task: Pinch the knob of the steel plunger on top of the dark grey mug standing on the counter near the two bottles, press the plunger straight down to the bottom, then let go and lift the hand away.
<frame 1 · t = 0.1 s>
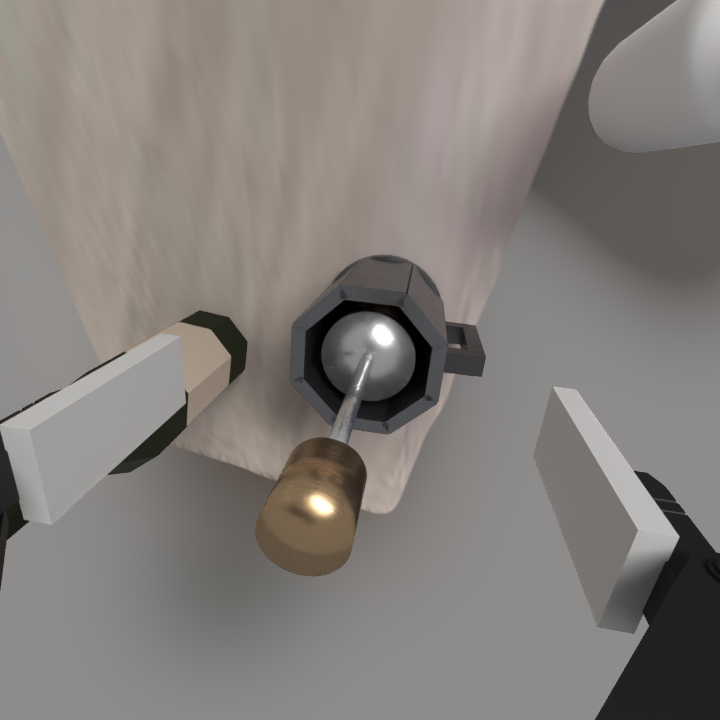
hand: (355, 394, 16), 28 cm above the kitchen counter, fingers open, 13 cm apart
dark grey mug: (383, 314, 44), on the kitchen counter
plunger: (347, 414, 25), point 21 cm above the kitchen counter, slide at 0.0 cm
potion bottle: (640, 95, 34), on the kitchen counter
wine bottle: (212, 346, 48), on the kitchen counter
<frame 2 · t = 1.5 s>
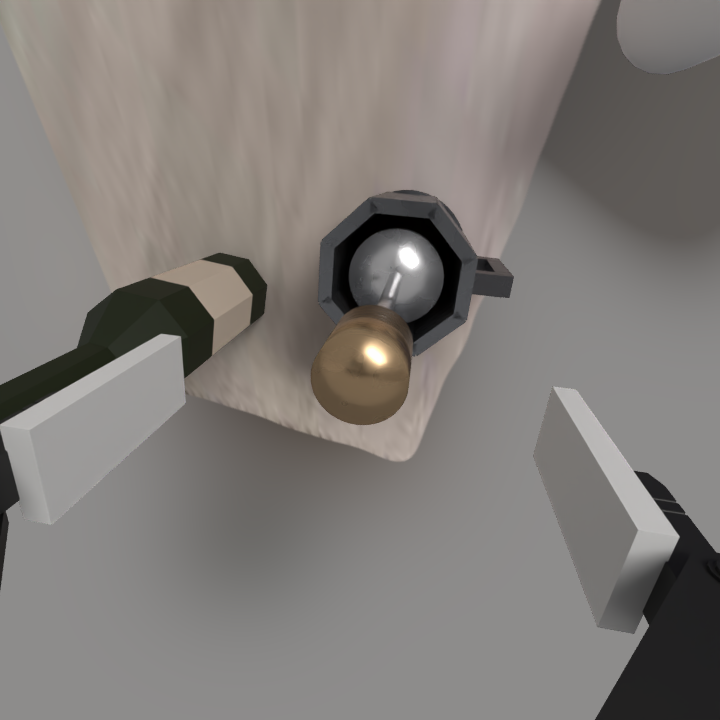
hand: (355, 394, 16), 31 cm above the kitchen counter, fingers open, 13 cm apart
dark grey mug: (404, 253, 44), on the kitchen counter
plunger: (384, 310, 25), point 21 cm above the kitchen counter, slide at 0.0 cm
potion bottle: (669, 14, 34), on the kitchen counter
wine bottle: (232, 291, 48), on the kitchen counter
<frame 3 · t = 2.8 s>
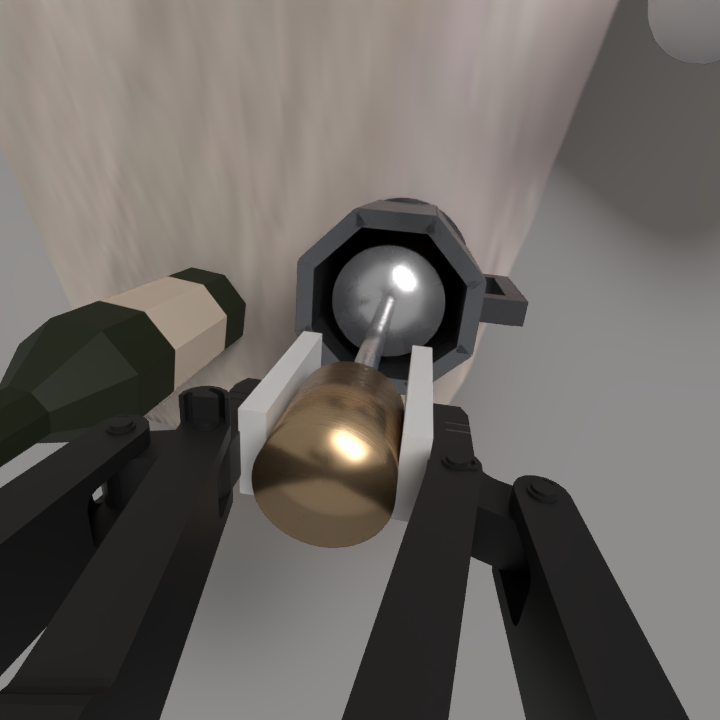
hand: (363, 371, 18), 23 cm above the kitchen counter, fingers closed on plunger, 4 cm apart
dark grey mug: (399, 269, 38), on the kitchen counter
plunger: (370, 353, 20), point 21 cm above the kitchen counter, slide at 0.0 cm, touching gripper
wine bottle: (206, 309, 43), on the kitchen counter
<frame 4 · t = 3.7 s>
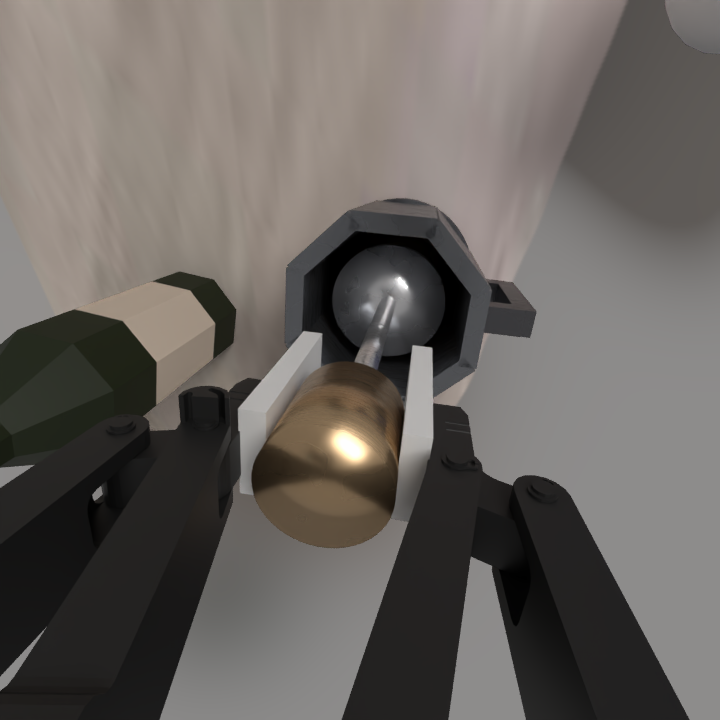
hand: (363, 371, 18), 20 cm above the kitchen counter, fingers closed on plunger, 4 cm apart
dark grey mug: (398, 273, 36), on the kitchen counter
plunger: (370, 353, 19), point 18 cm above the kitchen counter, slide at 2.3 cm, touching gripper
wine bottle: (195, 316, 41), on the kitchen counter
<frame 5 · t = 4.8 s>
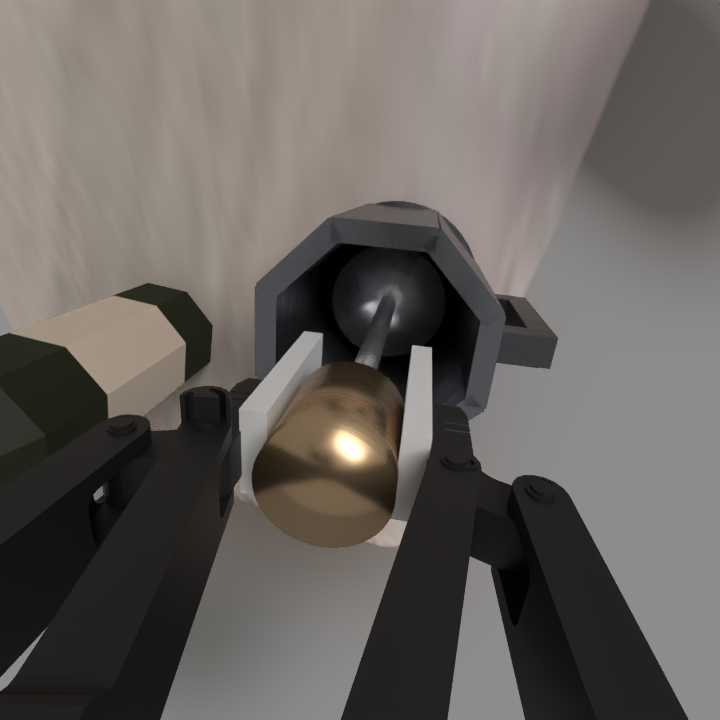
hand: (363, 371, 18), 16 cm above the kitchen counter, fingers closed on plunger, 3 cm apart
dark grey mug: (393, 286, 32), on the kitchen counter
plunger: (370, 353, 20), point 14 cm above the kitchen counter, slide at 7.0 cm, touching gripper
wine bottle: (167, 332, 36), on the kitchen counter
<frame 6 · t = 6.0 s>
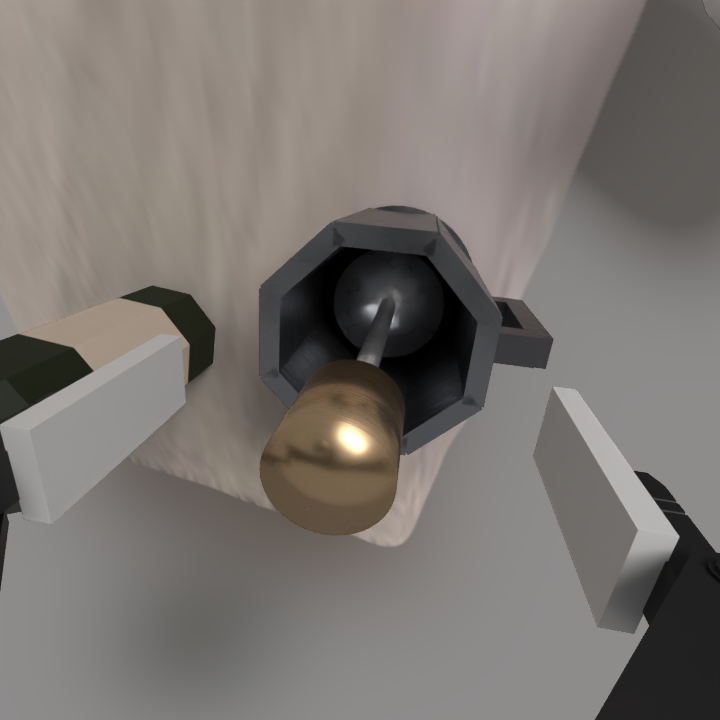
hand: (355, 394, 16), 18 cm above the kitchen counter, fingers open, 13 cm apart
dark grey mug: (393, 288, 33), on the kitchen counter
plunger: (371, 352, 20), point 14 cm above the kitchen counter, slide at 7.0 cm
wine bottle: (171, 334, 37), on the kitchen counter
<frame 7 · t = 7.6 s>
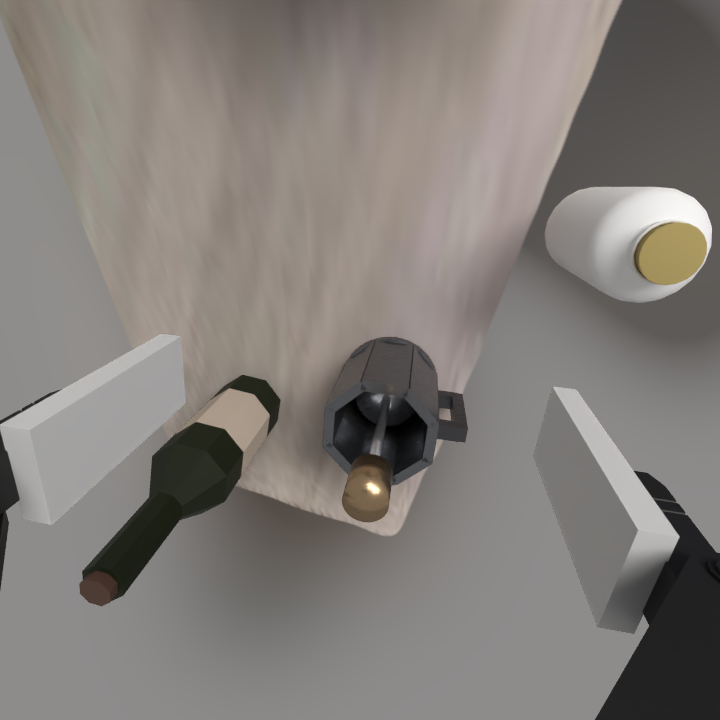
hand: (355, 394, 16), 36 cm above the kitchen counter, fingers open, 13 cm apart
dark grey mug: (389, 381, 55), on the kitchen counter
plunger: (378, 438, 43), point 14 cm above the kitchen counter, slide at 7.0 cm
potion bottle: (583, 229, 46), on the kitchen counter
wine bottle: (251, 402, 59), on the kitchen counter
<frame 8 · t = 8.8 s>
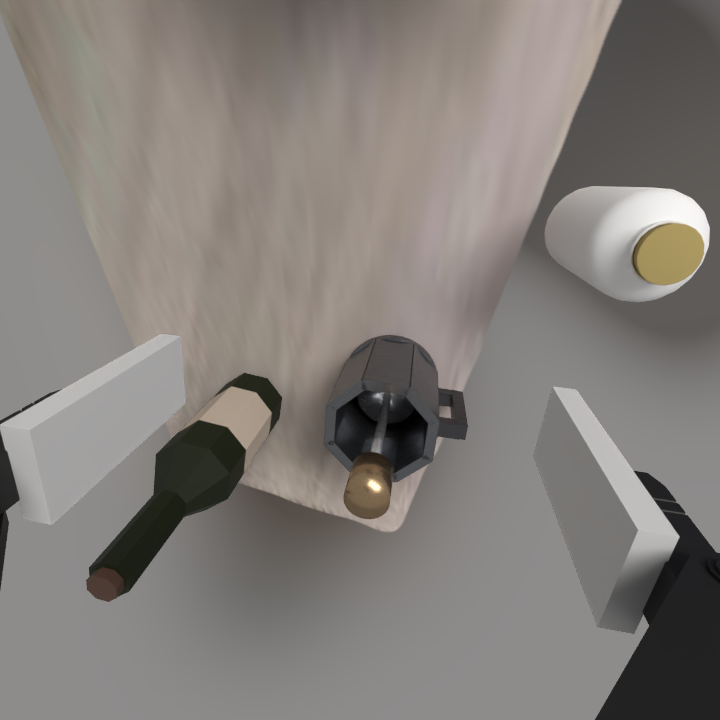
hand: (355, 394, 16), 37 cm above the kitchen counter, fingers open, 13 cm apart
dark grey mug: (390, 379, 56), on the kitchen counter
plunger: (379, 436, 43), point 14 cm above the kitchen counter, slide at 7.0 cm
potion bottle: (583, 228, 46), on the kitchen counter
wine bottle: (253, 400, 60), on the kitchen counter
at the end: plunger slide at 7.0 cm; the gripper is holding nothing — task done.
